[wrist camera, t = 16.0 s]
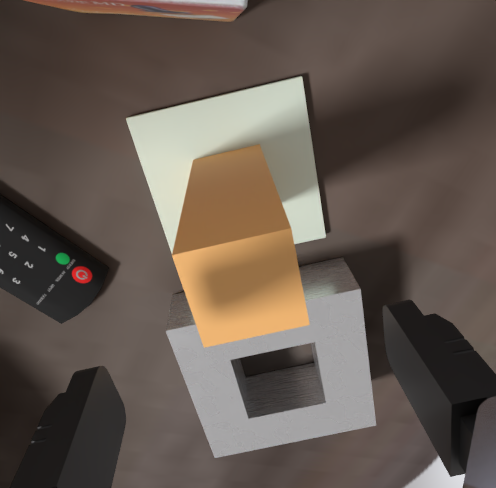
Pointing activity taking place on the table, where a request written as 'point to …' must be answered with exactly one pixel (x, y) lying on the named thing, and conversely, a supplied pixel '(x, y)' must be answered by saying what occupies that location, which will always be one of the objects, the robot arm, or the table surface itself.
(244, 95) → the mat
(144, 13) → the small box
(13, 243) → the remote control
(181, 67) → the table surface
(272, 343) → the socket block
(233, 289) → the key peg
